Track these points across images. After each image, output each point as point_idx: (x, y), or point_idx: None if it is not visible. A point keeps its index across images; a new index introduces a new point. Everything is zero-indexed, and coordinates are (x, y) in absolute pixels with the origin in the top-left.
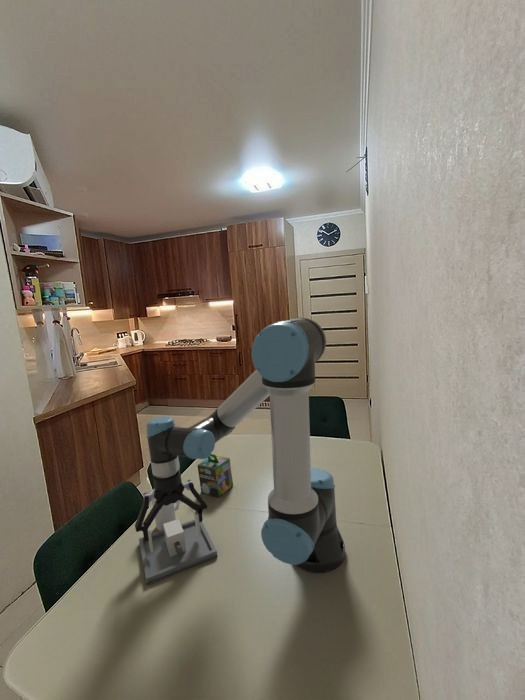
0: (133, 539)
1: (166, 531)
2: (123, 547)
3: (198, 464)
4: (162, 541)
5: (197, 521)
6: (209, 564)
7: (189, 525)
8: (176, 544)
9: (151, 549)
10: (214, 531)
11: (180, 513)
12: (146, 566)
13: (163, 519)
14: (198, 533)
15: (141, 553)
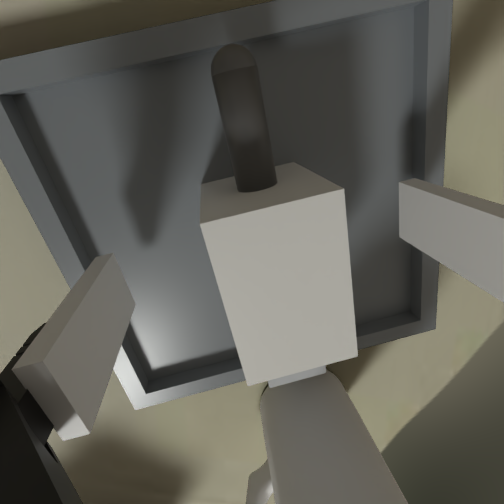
0: (435, 345)
1: (344, 268)
2: (478, 309)
3: None
4: None
5: (68, 311)
6: (35, 15)
7: (192, 371)
8: (261, 157)
9: (420, 184)
10: (51, 311)
11: (240, 452)
12: (435, 94)
13: (329, 416)
14: (108, 259)
15: None
